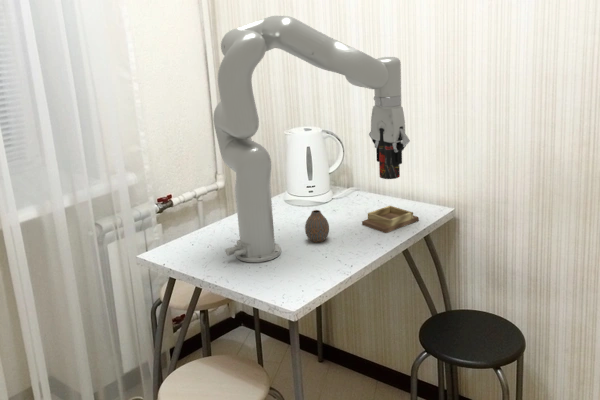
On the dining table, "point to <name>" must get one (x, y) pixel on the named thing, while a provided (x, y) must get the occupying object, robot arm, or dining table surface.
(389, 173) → the deodorant
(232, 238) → the dining table surface
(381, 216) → the holder board
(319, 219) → the vase
